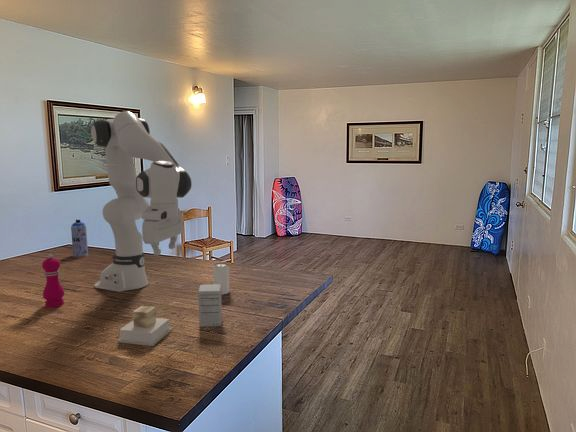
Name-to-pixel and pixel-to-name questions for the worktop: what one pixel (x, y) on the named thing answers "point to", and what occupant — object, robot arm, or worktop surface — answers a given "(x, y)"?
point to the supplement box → (210, 305)
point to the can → (221, 276)
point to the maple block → (144, 316)
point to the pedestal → (145, 333)
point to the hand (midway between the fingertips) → (164, 251)
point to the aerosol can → (79, 239)
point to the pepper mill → (52, 283)
